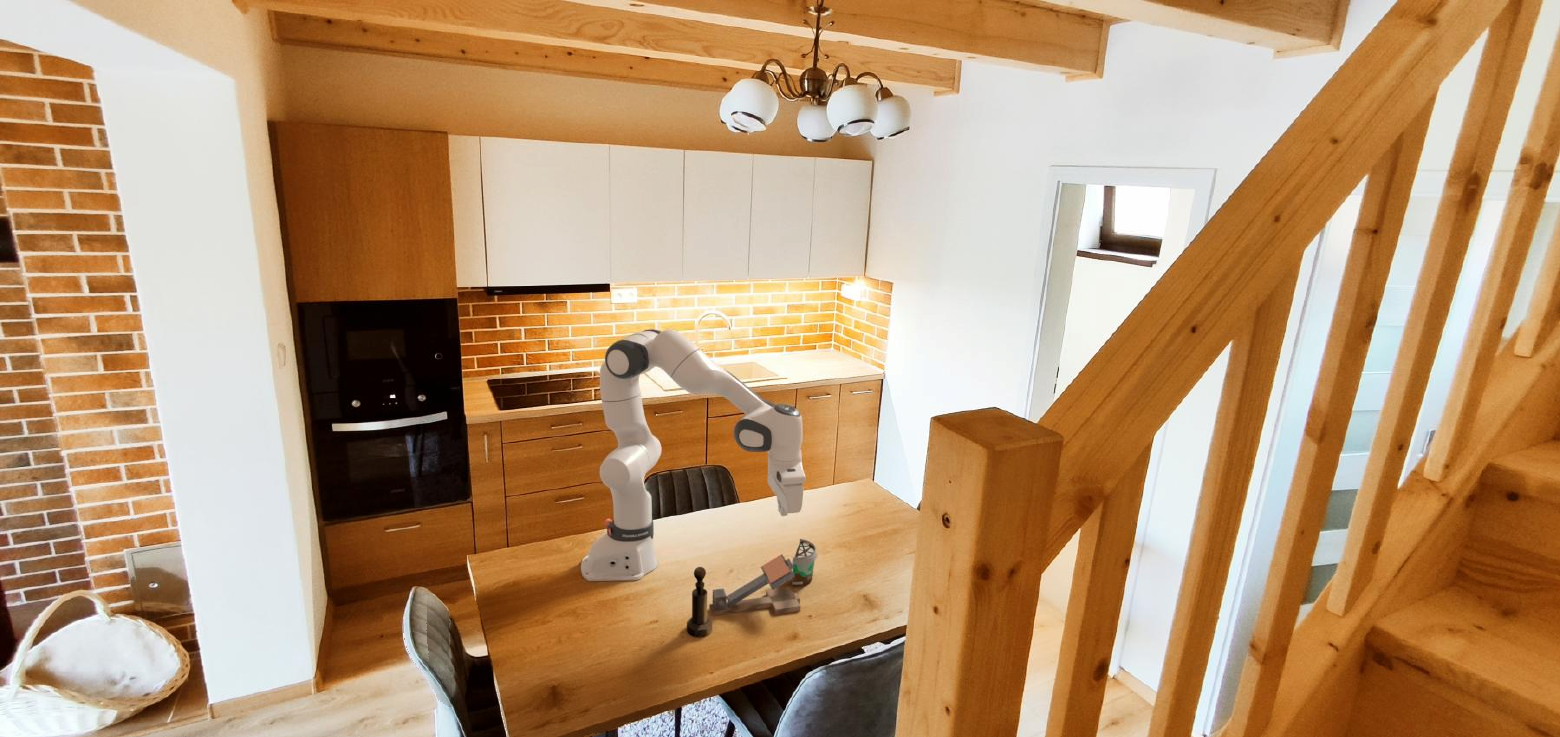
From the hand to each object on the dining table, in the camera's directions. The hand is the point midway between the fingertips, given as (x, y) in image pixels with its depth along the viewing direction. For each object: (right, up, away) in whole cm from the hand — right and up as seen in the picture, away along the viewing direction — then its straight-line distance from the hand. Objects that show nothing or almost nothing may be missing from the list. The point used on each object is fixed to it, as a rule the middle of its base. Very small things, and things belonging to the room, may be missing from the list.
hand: (782, 513), depth 198 cm
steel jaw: (-6, -20, +4) cm, 21 cm away
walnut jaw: (-8, -26, +5) cm, 28 cm away
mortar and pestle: (-22, -29, -6) cm, 37 cm away
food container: (+7, -23, +19) cm, 31 cm away
